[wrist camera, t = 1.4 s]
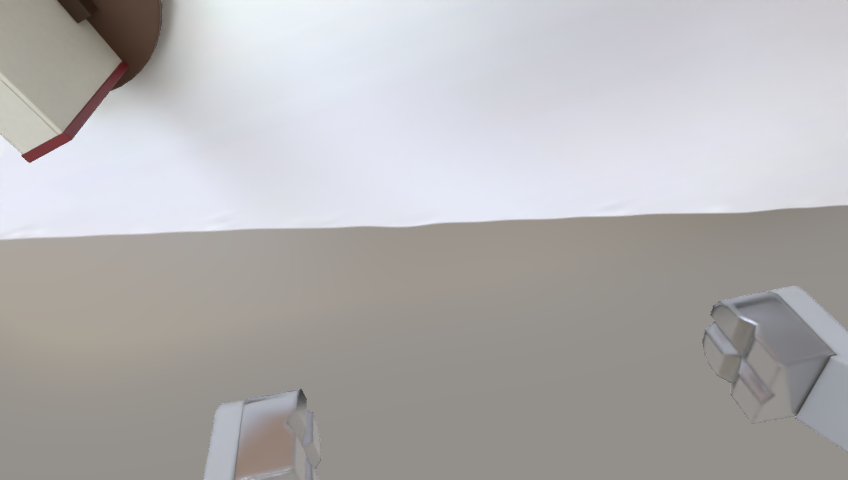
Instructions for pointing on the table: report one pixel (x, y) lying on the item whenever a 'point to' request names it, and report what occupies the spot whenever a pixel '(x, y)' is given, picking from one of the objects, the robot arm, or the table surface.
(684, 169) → the table surface
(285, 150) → the table surface
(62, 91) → the upright block on disc
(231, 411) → the robot arm
